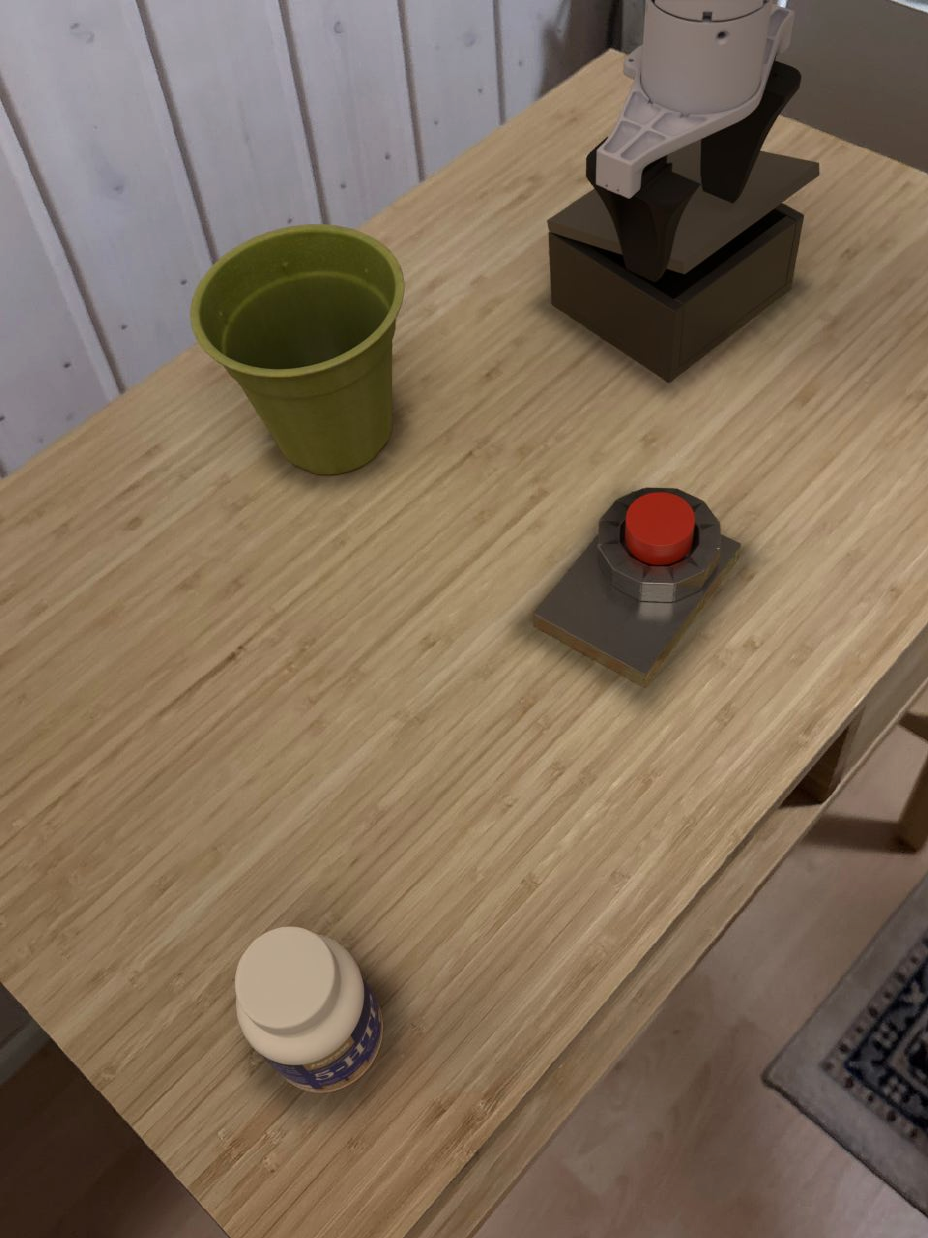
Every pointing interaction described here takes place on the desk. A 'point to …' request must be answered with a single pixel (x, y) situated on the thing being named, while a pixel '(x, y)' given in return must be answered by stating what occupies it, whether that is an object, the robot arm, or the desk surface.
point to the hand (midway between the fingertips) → (683, 232)
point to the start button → (659, 528)
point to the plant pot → (308, 338)
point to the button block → (635, 592)
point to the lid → (696, 208)
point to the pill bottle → (307, 1009)
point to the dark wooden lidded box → (676, 293)
